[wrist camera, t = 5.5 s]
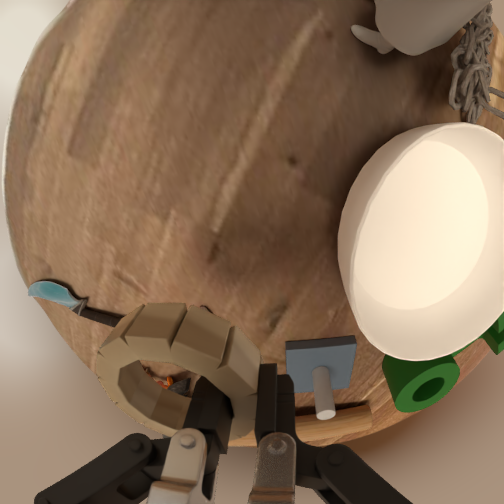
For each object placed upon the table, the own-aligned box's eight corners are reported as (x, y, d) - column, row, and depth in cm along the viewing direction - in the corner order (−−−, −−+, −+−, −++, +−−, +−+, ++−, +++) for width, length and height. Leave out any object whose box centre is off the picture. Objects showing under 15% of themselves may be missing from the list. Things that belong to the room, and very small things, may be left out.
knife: (21, 269, 30) (32, 296, 33) (15, 275, 29) (26, 301, 31) (126, 295, 28) (135, 327, 30) (119, 303, 27) (130, 335, 29)
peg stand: (285, 341, 29) (286, 396, 22) (354, 335, 29) (370, 387, 21) (287, 385, 32) (287, 435, 25) (346, 379, 32) (357, 428, 24)
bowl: (281, 220, 24) (283, 260, 16) (424, 85, 18) (478, 72, 10) (392, 337, 28) (415, 389, 20) (502, 231, 22) (545, 259, 14)
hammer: (137, 405, 26) (393, 388, 26) (147, 375, 31) (379, 360, 30) (181, 465, 34) (357, 454, 34) (184, 443, 39) (351, 432, 38)
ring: (97, 300, 11) (70, 329, 9) (257, 300, 10) (252, 340, 8) (145, 402, 14) (132, 430, 12) (268, 412, 13) (266, 447, 11)
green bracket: (392, 386, 32) (403, 420, 26) (373, 354, 30) (386, 392, 24) (489, 320, 27) (510, 346, 21) (484, 277, 24) (512, 303, 18)
